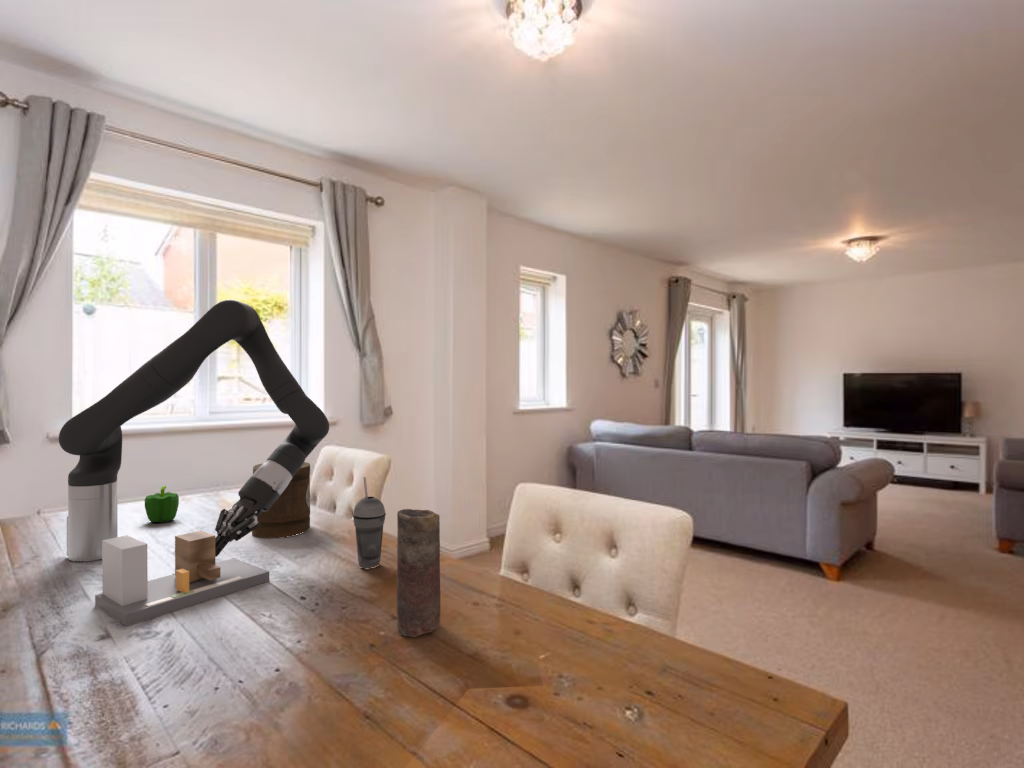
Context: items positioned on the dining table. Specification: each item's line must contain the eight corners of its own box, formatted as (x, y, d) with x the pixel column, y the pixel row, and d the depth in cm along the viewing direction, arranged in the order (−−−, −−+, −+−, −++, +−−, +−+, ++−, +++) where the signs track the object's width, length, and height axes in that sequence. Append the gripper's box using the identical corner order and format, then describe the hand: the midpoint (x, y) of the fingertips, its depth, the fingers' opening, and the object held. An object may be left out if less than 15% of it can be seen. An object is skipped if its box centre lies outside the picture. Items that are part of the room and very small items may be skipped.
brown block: (200, 568, 116) (200, 530, 116) (228, 580, 110) (228, 539, 110) (175, 575, 112) (175, 536, 112) (201, 588, 106) (201, 546, 105)
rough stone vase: (399, 619, 98) (399, 506, 98) (441, 618, 99) (441, 505, 98) (394, 639, 90) (394, 517, 90) (439, 638, 91) (440, 516, 91)
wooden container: (321, 528, 155) (321, 450, 155) (273, 542, 143) (273, 456, 142) (288, 521, 163) (288, 446, 163) (240, 533, 151) (240, 451, 150)
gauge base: (234, 567, 124) (234, 513, 124) (269, 580, 116) (269, 523, 116) (95, 605, 103) (94, 541, 103) (126, 626, 95) (126, 555, 94)
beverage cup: (377, 572, 121) (377, 481, 121) (346, 570, 122) (346, 479, 122) (391, 561, 128) (391, 475, 128) (361, 559, 129) (361, 473, 129)
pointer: (182, 587, 106) (182, 568, 106) (193, 592, 103) (193, 573, 103) (175, 589, 105) (175, 570, 105) (186, 594, 103) (186, 575, 102)
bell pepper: (167, 525, 158) (167, 490, 157) (138, 525, 158) (138, 489, 158) (185, 517, 166) (185, 484, 166) (158, 517, 166) (157, 484, 166)
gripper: (238, 472, 126) (181, 538, 116) (271, 478, 118) (213, 550, 109) (261, 491, 131) (208, 557, 121) (294, 499, 123) (240, 570, 113)
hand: (210, 554), depth 115 cm, fingers closed
